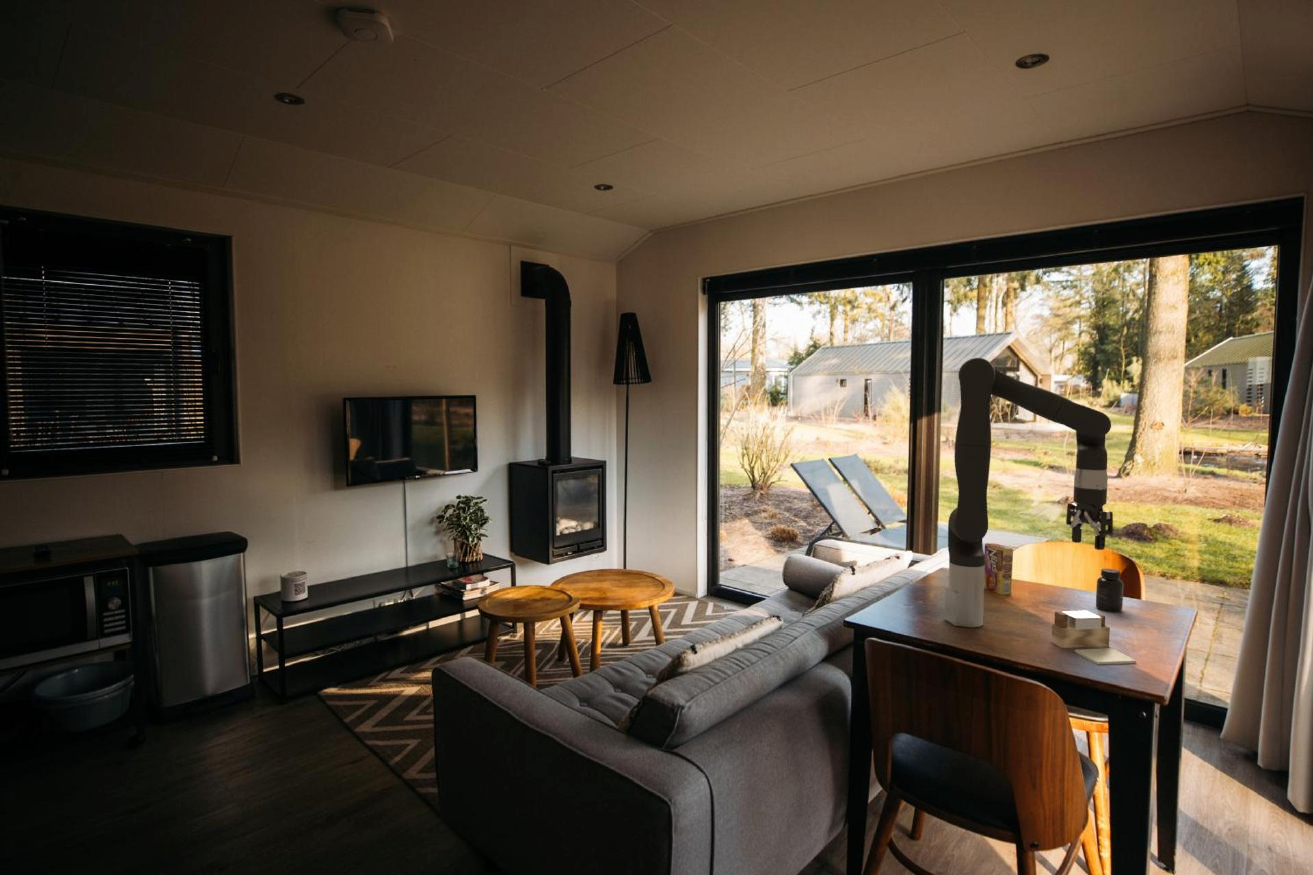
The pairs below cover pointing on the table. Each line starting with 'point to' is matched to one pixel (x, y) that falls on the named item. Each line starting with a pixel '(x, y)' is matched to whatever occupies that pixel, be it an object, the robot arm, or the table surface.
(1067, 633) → the body
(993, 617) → the table surface
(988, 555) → the candy box
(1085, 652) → the mat
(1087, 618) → the lever cap
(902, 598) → the table surface
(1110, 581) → the supplement bottle
